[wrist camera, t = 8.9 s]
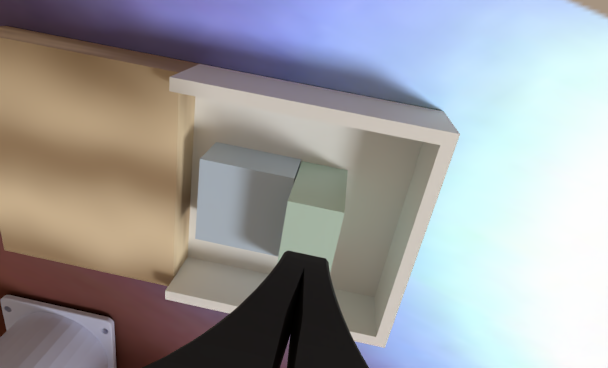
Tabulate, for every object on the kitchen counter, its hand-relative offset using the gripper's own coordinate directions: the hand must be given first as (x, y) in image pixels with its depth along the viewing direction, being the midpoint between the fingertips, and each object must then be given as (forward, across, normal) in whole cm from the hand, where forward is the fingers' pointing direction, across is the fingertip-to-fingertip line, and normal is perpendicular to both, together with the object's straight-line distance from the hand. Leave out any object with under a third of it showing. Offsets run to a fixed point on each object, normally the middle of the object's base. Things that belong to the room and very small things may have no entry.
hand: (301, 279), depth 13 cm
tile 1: (+7, +1, +2) cm, 7 cm away
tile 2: (+9, +4, +2) cm, 10 cm away
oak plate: (+9, +12, +2) cm, 15 cm away
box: (+9, +1, +2) cm, 10 cm away
